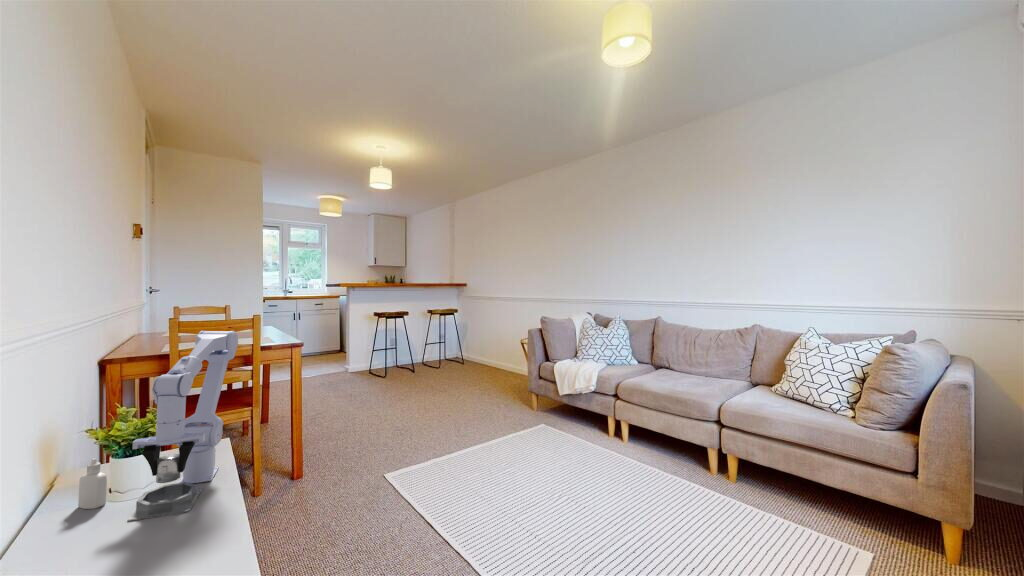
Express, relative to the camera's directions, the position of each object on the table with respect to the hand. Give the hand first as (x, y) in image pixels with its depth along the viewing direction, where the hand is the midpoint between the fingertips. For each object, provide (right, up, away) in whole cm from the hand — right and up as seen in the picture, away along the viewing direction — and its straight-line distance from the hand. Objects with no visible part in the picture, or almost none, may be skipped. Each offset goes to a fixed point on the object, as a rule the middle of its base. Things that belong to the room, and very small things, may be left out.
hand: (168, 472), depth 105 cm
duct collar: (0, -8, 0) cm, 8 cm away
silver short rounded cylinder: (0, -2, 0) cm, 2 cm away
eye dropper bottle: (-18, -8, -2) cm, 20 cm away
